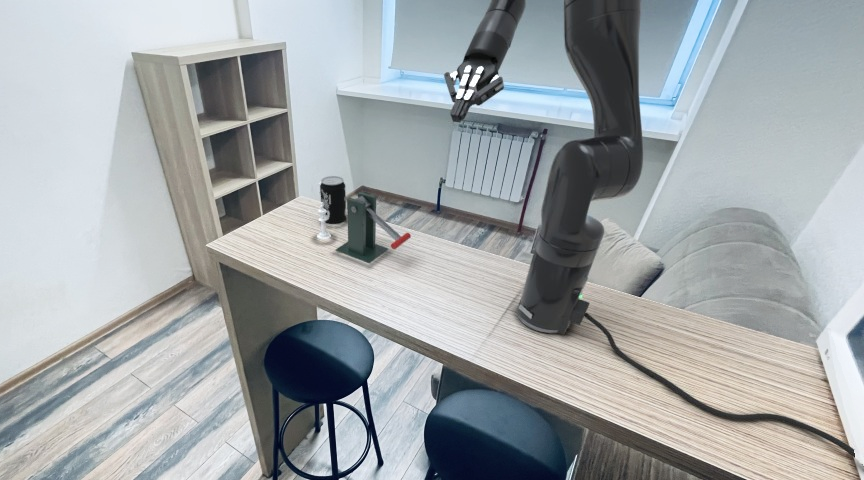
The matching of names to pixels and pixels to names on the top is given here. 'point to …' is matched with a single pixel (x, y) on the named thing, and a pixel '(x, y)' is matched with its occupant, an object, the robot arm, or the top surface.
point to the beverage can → (333, 199)
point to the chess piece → (323, 223)
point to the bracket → (361, 231)
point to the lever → (385, 226)
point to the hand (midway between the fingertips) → (455, 119)
